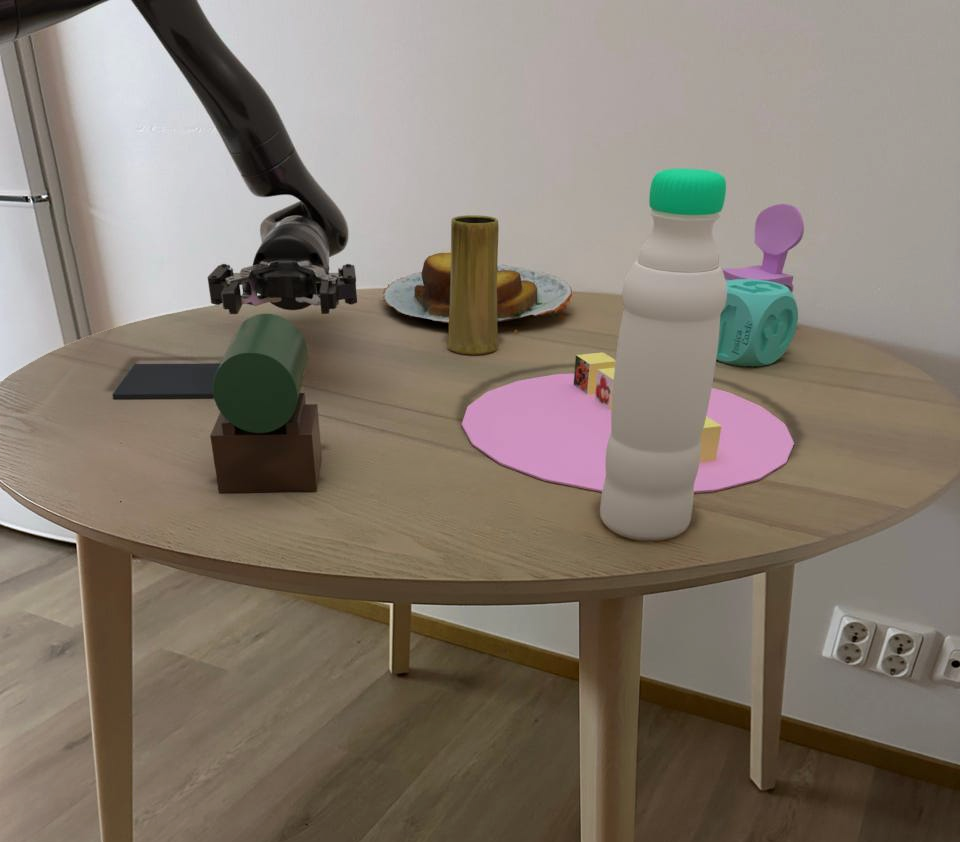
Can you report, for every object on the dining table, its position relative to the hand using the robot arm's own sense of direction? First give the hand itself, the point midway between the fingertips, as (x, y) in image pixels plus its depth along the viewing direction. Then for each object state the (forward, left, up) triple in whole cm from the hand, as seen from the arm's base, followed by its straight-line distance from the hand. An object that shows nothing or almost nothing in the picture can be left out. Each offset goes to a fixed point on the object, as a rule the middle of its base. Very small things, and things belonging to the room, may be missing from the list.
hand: (278, 303), depth 86 cm
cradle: (0, -16, -10) cm, 19 cm away
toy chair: (+56, +27, -11) cm, 63 cm away
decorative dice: (+52, +17, -11) cm, 56 cm away
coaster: (-13, +9, -10) cm, 19 cm away
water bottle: (+30, -26, -11) cm, 41 cm away
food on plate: (+22, +39, -11) cm, 46 cm away
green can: (0, -14, -2) cm, 14 cm away
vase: (+20, +21, -11) cm, 31 cm away
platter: (+33, -5, -11) cm, 35 cm away
